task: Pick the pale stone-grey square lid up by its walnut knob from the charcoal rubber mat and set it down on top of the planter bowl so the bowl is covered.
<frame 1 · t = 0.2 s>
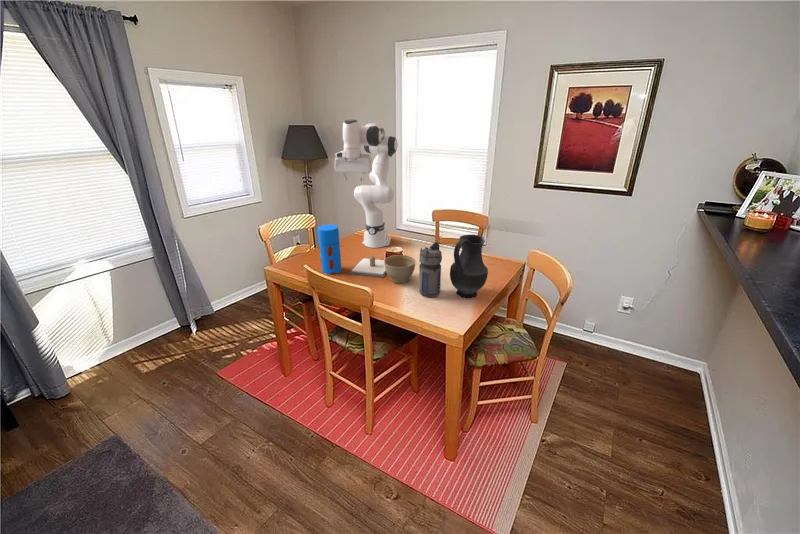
hand: (354, 180, 185), 47 cm above the table, fingers open, 8 cm apart
beverage bottle: (430, 292, 168), on the table
planter bowl: (400, 280, 182), on the table
pitcher: (464, 295, 165), on the table
blue slotted cylinder: (332, 270, 193), on the table
lid: (372, 266, 196), point 1 cm above the table, touching mat
mat: (372, 267, 196), on the table
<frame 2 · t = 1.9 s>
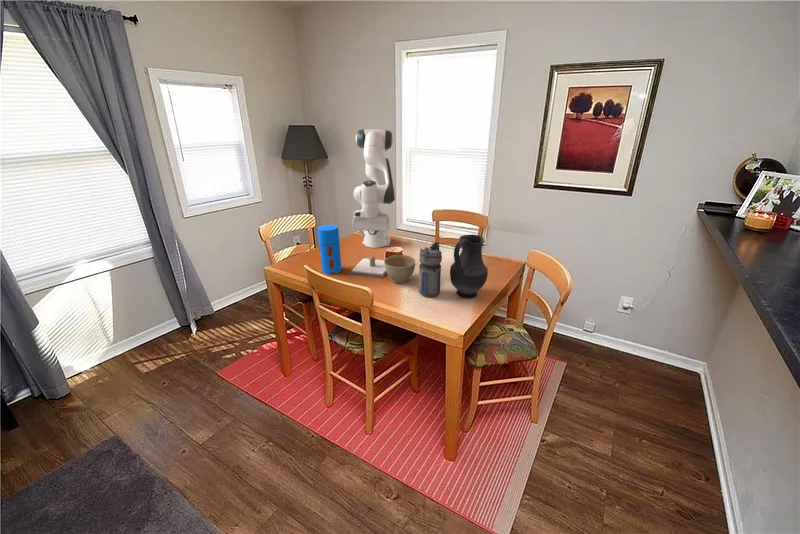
hand: (371, 237, 188), 18 cm above the table, fingers open, 8 cm apart
nothing on the table moved.
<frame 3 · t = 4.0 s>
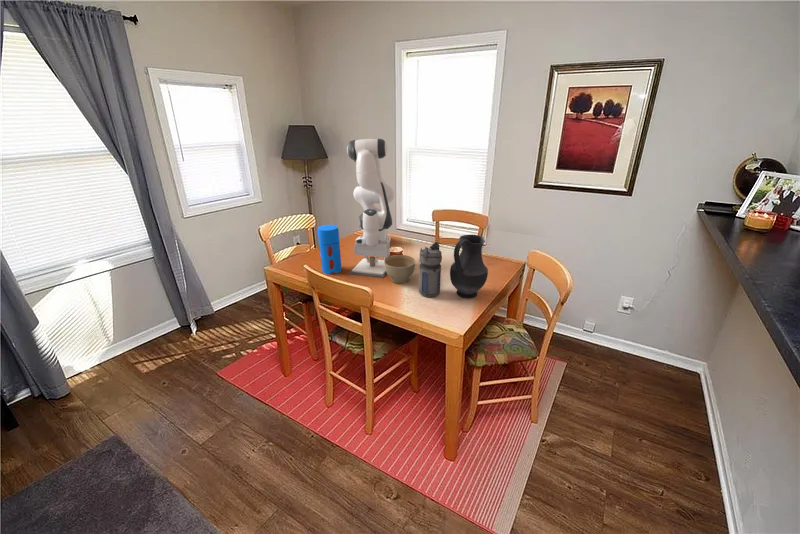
hand: (372, 262, 195), 3 cm above the table, fingers closed on lid, 3 cm apart
lid: (372, 266, 196), point 1 cm above the table, touching gripper, mat
everything else where it was.
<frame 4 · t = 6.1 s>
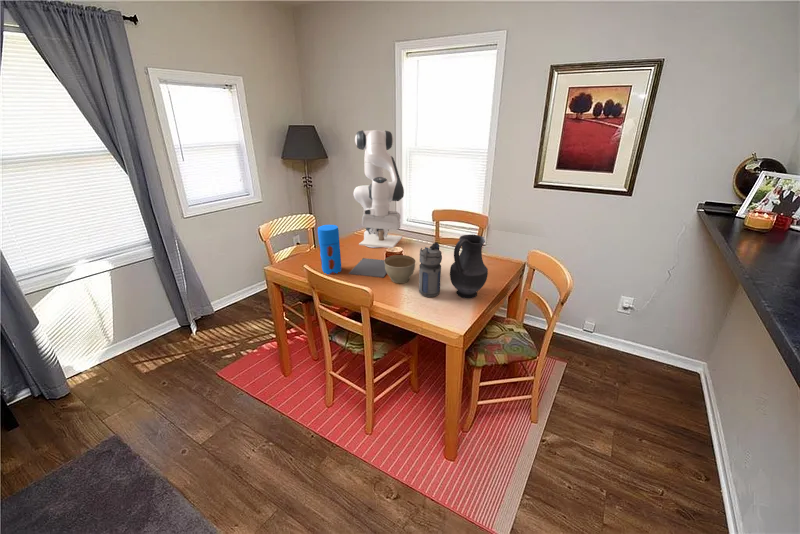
hand: (381, 236, 181), 21 cm above the table, fingers closed on lid, 3 cm apart
lid: (381, 241, 182), point 18 cm above the table, touching gripper
everything else where it was.
when the fingers open (15 cm above the table, at t = 8.6 s): lid drops 1 cm, resting on planter bowl.
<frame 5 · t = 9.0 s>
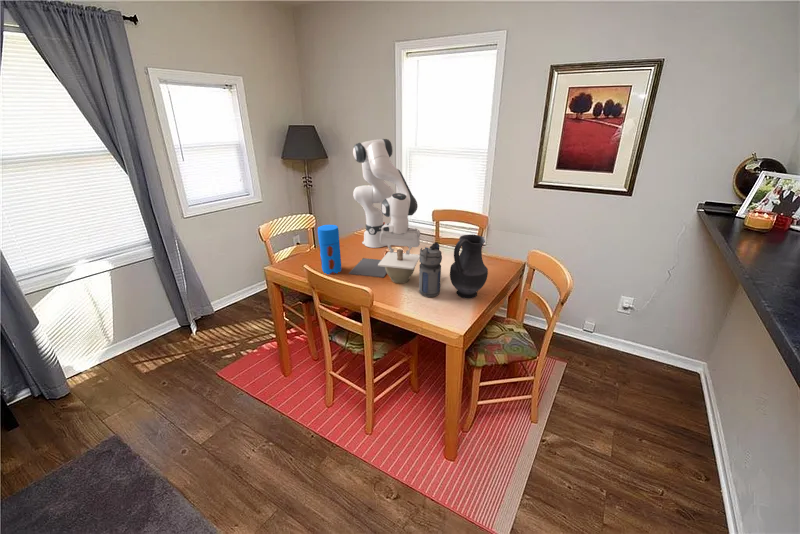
hand: (399, 253, 175), 15 cm above the table, fingers open, 7 cm apart
planter bowl: (400, 280, 182), on the table, touching lid
lid: (400, 260, 177), point 11 cm above the table, touching planter bowl
everything else where it was.
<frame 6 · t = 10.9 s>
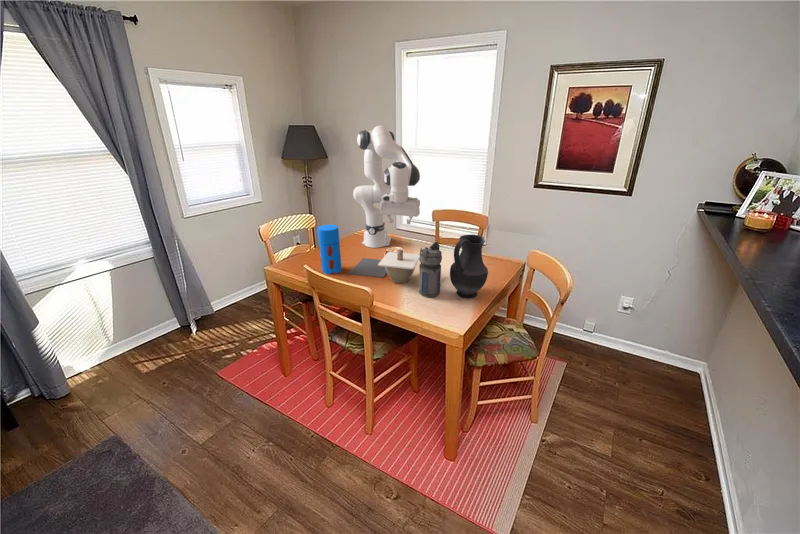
hand: (399, 223, 177), 28 cm above the table, fingers open, 8 cm apart
nothing on the table moved.
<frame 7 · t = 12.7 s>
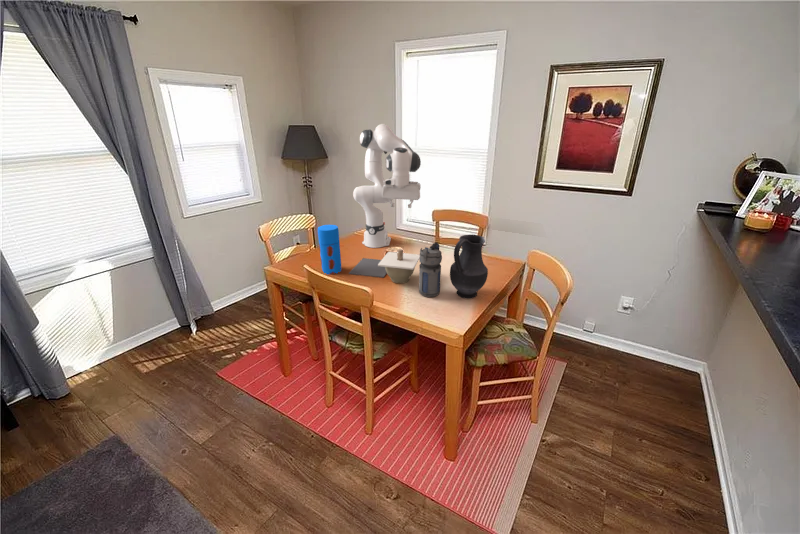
hand: (401, 207, 184), 34 cm above the table, fingers open, 8 cm apart
nothing on the table moved.
at the end: lid inside the target area on the planter bowl (0.1 cm from its centre), point 11.0 cm above the planter bowl's base; lid tilted 0°; the gripper is holding nothing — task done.
